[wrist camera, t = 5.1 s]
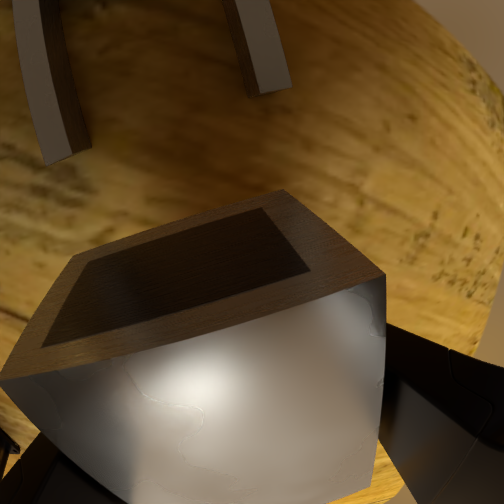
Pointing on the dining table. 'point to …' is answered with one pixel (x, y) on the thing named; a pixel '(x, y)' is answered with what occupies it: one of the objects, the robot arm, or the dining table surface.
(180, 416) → the block
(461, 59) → the dining table surface
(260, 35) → the frame
